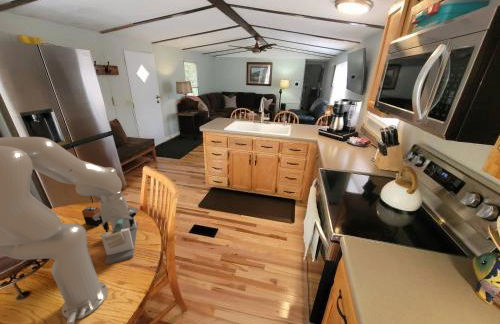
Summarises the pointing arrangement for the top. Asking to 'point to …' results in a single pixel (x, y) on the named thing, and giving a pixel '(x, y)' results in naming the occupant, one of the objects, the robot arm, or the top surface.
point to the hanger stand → (125, 249)
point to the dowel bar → (116, 236)
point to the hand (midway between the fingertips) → (119, 227)
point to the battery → (91, 215)
